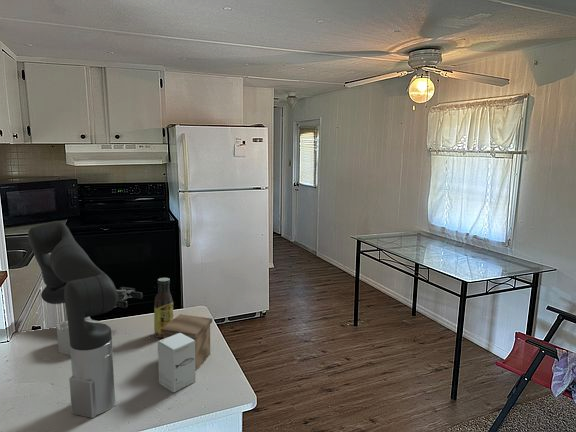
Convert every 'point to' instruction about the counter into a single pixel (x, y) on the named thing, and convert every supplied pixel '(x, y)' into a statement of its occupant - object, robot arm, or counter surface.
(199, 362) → the brown wooden box
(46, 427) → the counter surface
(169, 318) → the sauce bottle
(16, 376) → the counter surface
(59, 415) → the counter surface
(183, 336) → the supplement box
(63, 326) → the lumpy-topped squat cylinder
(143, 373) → the counter surface
